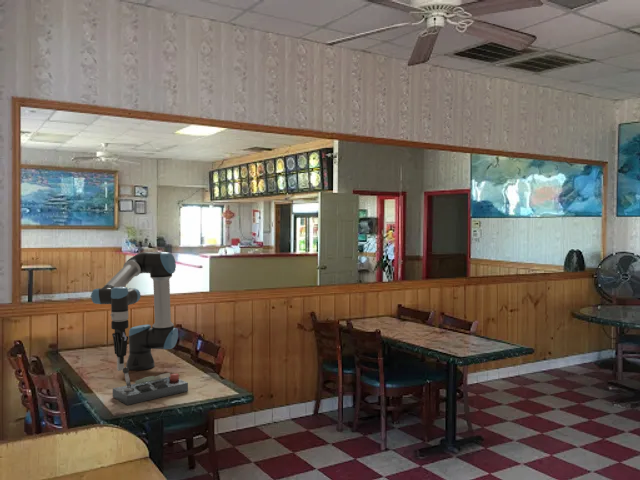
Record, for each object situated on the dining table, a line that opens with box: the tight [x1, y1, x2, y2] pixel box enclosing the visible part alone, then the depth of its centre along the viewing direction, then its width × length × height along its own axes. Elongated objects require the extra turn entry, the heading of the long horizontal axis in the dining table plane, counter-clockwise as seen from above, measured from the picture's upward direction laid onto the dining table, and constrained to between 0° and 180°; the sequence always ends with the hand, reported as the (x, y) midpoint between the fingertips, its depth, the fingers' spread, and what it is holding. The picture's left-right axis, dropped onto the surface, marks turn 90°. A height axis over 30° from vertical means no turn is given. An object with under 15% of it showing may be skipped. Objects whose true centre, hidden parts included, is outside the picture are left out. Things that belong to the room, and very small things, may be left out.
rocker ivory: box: [153, 372, 171, 381], centre depth 266 cm, size 10×5×2 cm, turn 42°
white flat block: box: [134, 375, 155, 385], centre depth 261 cm, size 10×5×2 cm, turn 42°
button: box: [169, 372, 180, 382], centre depth 271 cm, size 4×4×3 cm
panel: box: [112, 377, 189, 406], centre depth 263 cm, size 16×30×5 cm, turn 132°
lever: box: [122, 366, 131, 388], centre depth 257 cm, size 3×3×10 cm
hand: (120, 370), depth 262 cm, fingers closed
